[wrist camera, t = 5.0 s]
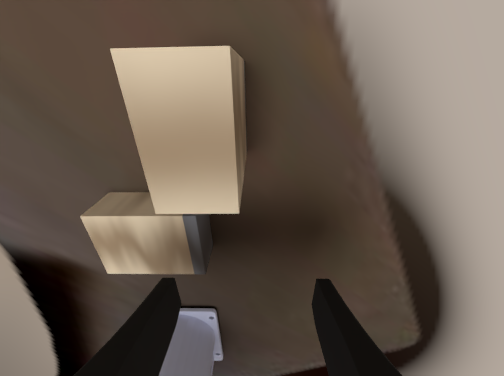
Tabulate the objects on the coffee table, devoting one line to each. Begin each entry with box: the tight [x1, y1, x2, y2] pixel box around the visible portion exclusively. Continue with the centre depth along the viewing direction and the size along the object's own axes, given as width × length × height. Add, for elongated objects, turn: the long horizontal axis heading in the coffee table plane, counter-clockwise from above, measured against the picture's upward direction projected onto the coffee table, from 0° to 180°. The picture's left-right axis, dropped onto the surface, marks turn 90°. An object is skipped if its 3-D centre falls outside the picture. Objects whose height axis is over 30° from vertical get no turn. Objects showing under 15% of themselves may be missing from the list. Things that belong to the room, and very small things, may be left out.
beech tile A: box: [80, 192, 213, 274], centre depth 15 cm, size 5×3×7 cm
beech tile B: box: [110, 46, 247, 214], centre depth 10 cm, size 5×3×7 cm, turn 1°
